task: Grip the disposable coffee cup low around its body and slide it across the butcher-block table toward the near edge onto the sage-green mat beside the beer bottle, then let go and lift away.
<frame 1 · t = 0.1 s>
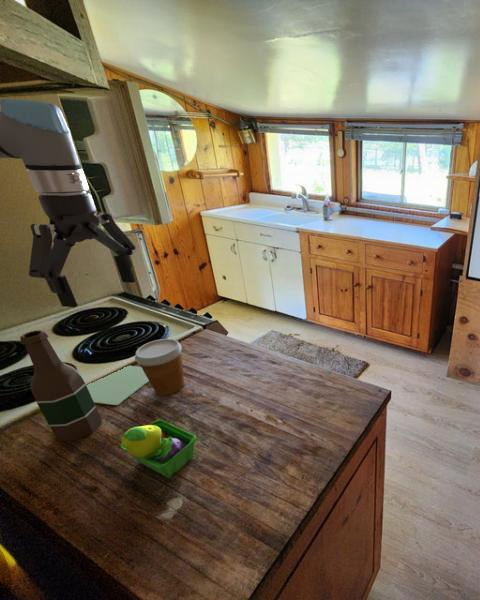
hand: (102, 293, 72), 26 cm above the counter, tool pointing down, fingers open, 13 cm apart
beer bottle: (80, 429, 71), on the counter
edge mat: (117, 383, 84), on the counter
fruit basket: (163, 462, 64), on the counter
disposable coffee cup: (170, 387, 84), on the counter
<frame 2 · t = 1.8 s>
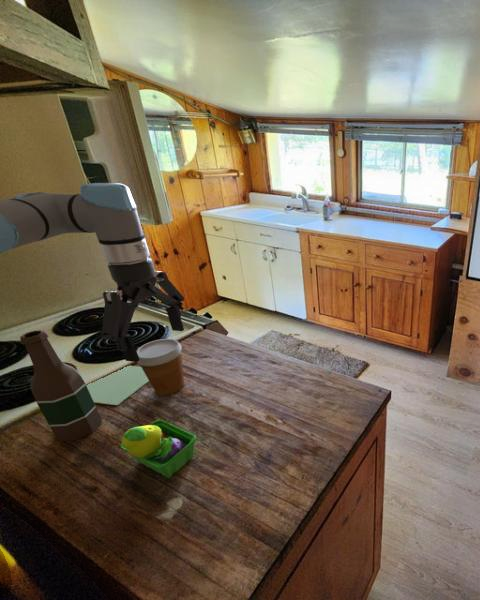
hand: (157, 344, 78), 13 cm above the counter, tool pointing down, fingers open, 13 cm apart
nothing on the counter moved.
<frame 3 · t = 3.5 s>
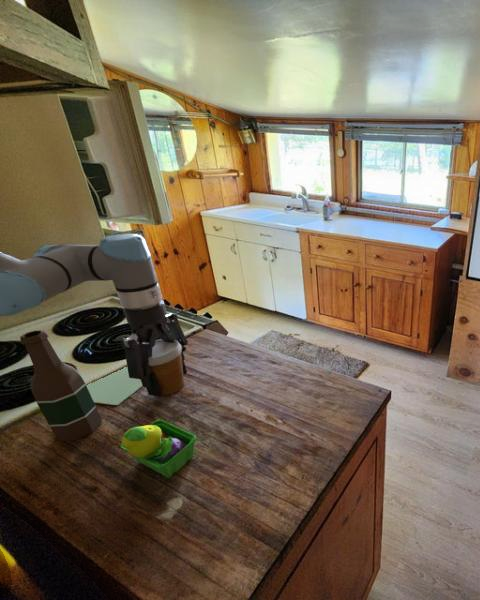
hand: (169, 383, 83), 1 cm above the counter, tool pointing down, fingers closed on disposable coffee cup, 8 cm apart
disposable coffee cup: (170, 387, 84), on the counter, touching gripper
everything else where it was.
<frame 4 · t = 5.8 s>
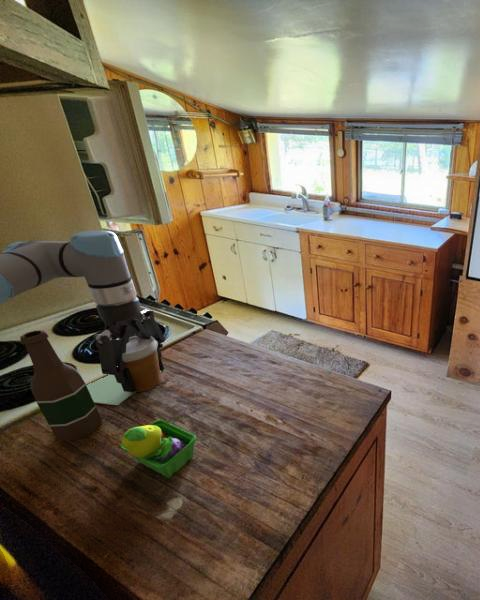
hand: (145, 379, 84), 2 cm above the counter, tool pointing down, fingers closed on disposable coffee cup, 8 cm apart
disposable coffee cup: (146, 384, 84), on the counter, touching gripper
everything else where it was.
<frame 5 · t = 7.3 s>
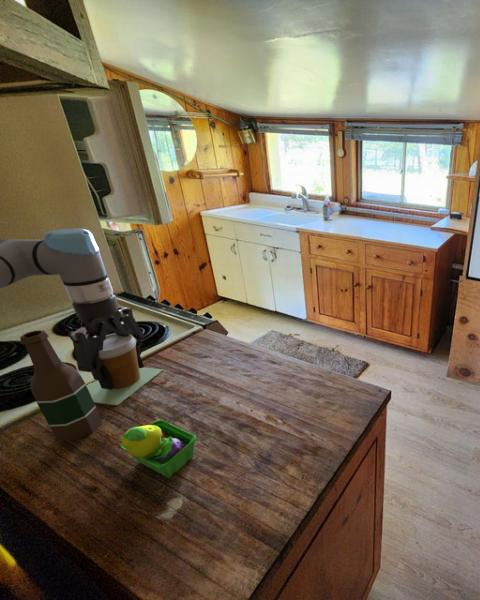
hand: (123, 376, 84), 2 cm above the counter, tool pointing down, fingers closed on disposable coffee cup, 8 cm apart
disposable coffee cup: (125, 381, 85), resting on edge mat, touching gripper
everything else where it was.
when the fingers open (1 cm above the counter, at t = 8.0 s): disposable coffee cup stays where it is, resting on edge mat.
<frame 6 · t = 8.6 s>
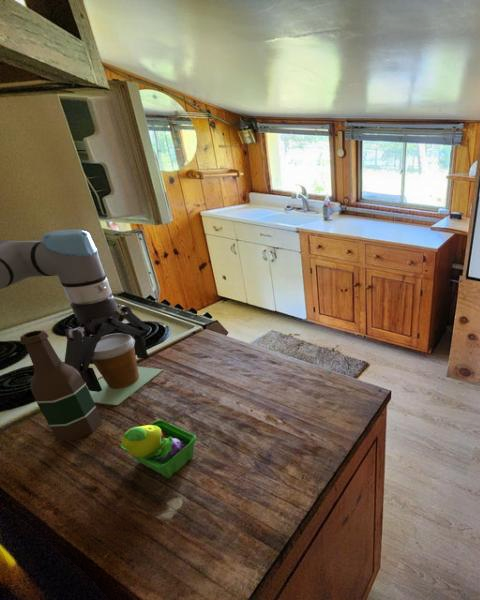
hand: (121, 373, 84), 3 cm above the counter, tool pointing down, fingers open, 13 cm apart
disposable coffee cup: (124, 381, 85), resting on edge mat
everything else where it was.
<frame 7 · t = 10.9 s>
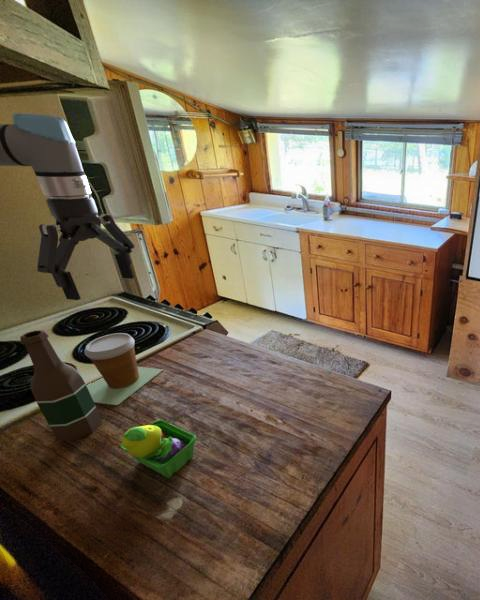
hand: (103, 287, 79), 25 cm above the counter, tool pointing down, fingers open, 13 cm apart
nothing on the counter moved.
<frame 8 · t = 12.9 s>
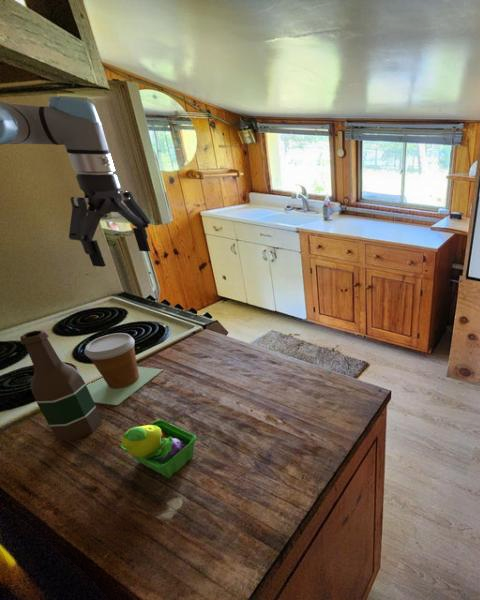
hand: (123, 258, 87), 29 cm above the counter, tool pointing down, fingers open, 13 cm apart
nothing on the counter moved.
at the end: disposable coffee cup inside the target area (1.6 cm from its centre), resting on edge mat; disposable coffee cup tilted 0°; disposable coffee cup 15.9 cm from the beer bottle (horizontally) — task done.
